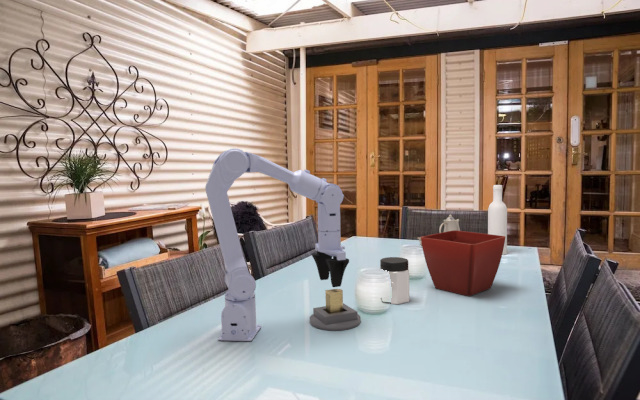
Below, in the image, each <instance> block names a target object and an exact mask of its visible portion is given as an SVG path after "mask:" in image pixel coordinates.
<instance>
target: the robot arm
mask: <svg viewBox="0 0 640 400" xmlns="http://www.w3.org/2000/svg"><path fill="white" fill-rule="evenodd" d="M212 164H213V165H212V167H211V170H210V173H209V176H208V178H207V180H206V183H205V186H204V187H205V194H206V197H207V201H208V206H209V209H210V213H211V216H212V221H213V224H214V227H215V231H216V236H217V239H218V243H219V247H220V250H221V254H222V258H223V263H224V267H225V268H224V269H225V274H224V283H225V285H226V286H227V287H226V288H228V289H227V291H226V292H225V294H224V302H225V303H224V307H223V309H222V311H221V315H220V317H221V319H220V320H221V334H220V336H219V337H218V338H217V339H218V341H229V342H231V341H234V342H235V341H236V342H237V341H238V342H251V341H253V340H254V338H255V336H256V335H257V334H258V332H259V331H260V329H261V327H262V325H261V324H257V311H256V310H257V308H256V305H257V304H256V303H257V302H256V292H255V291H256V288H257V284H256V283H257V282H256V280H255V278H254V277H253V275H251V273H250V271H249V270H248V264H247V262H246V259H245V257H244V252H243V249H242V246H241V243H240V242H241V241H240V237H239V235H238V234H239V233H238V230H237V225H236V222H235V219H234V214H233V212H232V207H231V203H230V199H229V195H228V191H229V190H230V188H231V187H232V186H233V184H234V183H235V181H236V180H237V179H239V178H240V177H241V176H242V175H244V174H245V173H248V174H249V173H250V174H251V173H260V174H263V175H264V176H268V177H270V178H273V179H275V180H279V181H280V182H283V183H286V184H287V185H288V186H289V189H290V191H291V192H293V193H295V194H297V195H300V196H303V197H305V198H307V199H309V200H312V201H315V202H316V203H317V235H318V237H317V240H318V242H317V243H315V245H314V246H315V251H316V252H313V253H311V257H312V258H313V260H314V262H315V265H316V269H317V272H318V276H319V280H320V281H326V280H329V278H330V282H331V287H332V288H338V287H341V286H342V283H343V278H344V274H345V271H346V268H347V266H348V265H349V263H350V259H349V258H347V256H346V251H345V249H346V246H344V245H341V244H342V243H341V242H342V241H341V239H342V237H341V235H342V234H341V229H342V228H341V204H342V202H343V200H344V197H345V195H344V194H343V191H342V189H341V187H340V186H339V185H338V184H336V183H330V182H327V178H324V177H322V178H321V177H318V176H316V175H314V174H311V171H310V170H308V169H304V170H302V169H298V170H296V171H292V170H289V169H288V168H286V167H284V166H281V165H279V164H277V163H275V162H273V161H271V160H269V159H268V158H265V157H263V156H261V155H258V154H255V153H252V152H248V151H243V150H242V149H240V148H234V147H233V148H230V149H228V150H225V151H222V152H221V153H220V154H219V155H218V157H217V158H216V159H215V160H214V161H213V163H212Z"/></svg>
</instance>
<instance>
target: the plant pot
mask: <svg viewBox="0 0 640 400" xmlns="http://www.w3.org/2000/svg"><path fill="white" fill-rule="evenodd" d="M422 236H423V235H422ZM422 236H420V237H421V243H422V246H421V248H422V252H423V253H422V254H423V256H424V260H425V264H426V267H427V269H428V273H429V276H430V278H431V281H432V285H433V286H434V288H435V289H438V290H442V291H446V292H451V293H455V294H458V295H463V296H466V297H471V296H473V295H476V294H479V293H481V292H484V291H487V290H489V289H491V288H492V285H493V284H494V281H495V278H496V276H497V274H498V270H499V268H500V263H501V260H502V258H503V257H502V256H503V255H502V253H503V248H504V243H505V236H499V235H491V234H488V233H482V232H481V233H480V232H471V231H464V230H460V231H457V230H453V231H447V232H444V231H441V233H439V232H438V233H433V234H427V235H424V236H423V237H422Z"/></svg>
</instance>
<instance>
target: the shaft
mask: <svg viewBox="0 0 640 400" xmlns="http://www.w3.org/2000/svg"><path fill="white" fill-rule="evenodd" d="M343 303H344V293H343V289H342V288H330V289H325V306H326V312H327V313H329V314H332V313H338V312H343Z"/></svg>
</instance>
